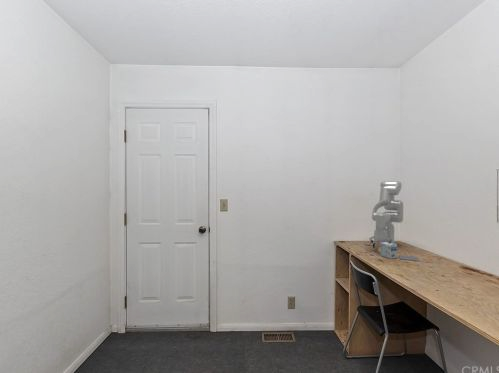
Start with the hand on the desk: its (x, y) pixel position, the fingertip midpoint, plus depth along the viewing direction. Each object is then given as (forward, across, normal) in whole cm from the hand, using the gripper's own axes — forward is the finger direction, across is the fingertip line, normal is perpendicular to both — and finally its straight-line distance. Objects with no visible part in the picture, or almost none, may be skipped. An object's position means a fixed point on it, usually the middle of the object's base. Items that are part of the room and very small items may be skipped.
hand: (380, 248), depth 231 cm
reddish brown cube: (+3, 0, 0) cm, 3 cm away
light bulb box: (+4, -6, +12) cm, 14 cm away
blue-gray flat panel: (+3, -20, +10) cm, 23 cm away
